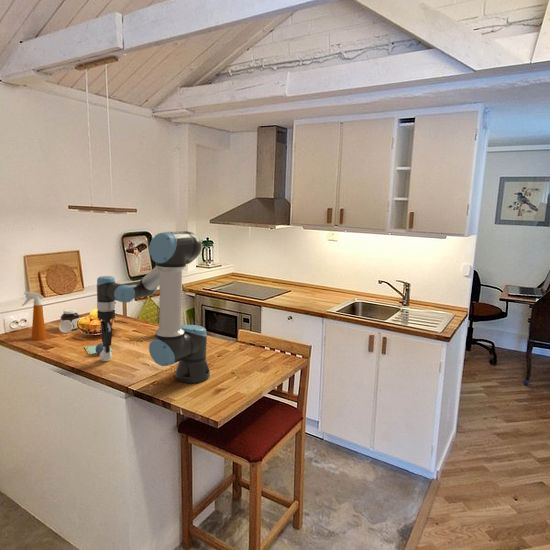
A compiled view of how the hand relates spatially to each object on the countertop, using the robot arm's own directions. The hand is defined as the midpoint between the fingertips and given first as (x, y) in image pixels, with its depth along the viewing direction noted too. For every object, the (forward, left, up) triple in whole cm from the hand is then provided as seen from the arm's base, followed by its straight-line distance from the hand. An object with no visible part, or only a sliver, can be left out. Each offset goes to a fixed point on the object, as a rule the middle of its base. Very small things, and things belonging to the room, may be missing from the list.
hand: (106, 358), depth 193 cm
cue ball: (+4, 0, 0) cm, 4 cm away
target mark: (+22, 0, -3) cm, 22 cm away
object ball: (+14, 0, 0) cm, 14 cm away
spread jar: (+62, +8, -3) cm, 62 cm away
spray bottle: (+53, +26, -3) cm, 59 cm away
